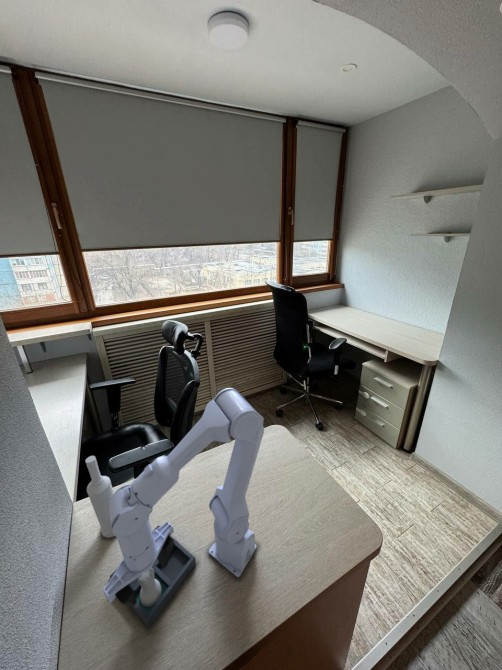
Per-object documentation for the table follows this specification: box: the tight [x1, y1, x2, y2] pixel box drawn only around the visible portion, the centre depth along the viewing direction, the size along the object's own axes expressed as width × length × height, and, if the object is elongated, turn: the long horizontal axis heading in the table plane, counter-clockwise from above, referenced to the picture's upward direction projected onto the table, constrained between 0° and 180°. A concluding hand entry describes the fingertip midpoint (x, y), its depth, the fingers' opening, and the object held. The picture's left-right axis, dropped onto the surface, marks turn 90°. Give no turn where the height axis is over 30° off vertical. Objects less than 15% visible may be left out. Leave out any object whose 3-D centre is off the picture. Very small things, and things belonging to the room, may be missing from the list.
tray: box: [109, 525, 197, 629], centre depth 62 cm, size 13×13×3 cm
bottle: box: [85, 455, 116, 539], centre depth 67 cm, size 5×5×25 cm
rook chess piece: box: [138, 567, 162, 607], centre depth 57 cm, size 4×4×8 cm
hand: (148, 581), depth 57 cm, fingers open, 7 cm apart
